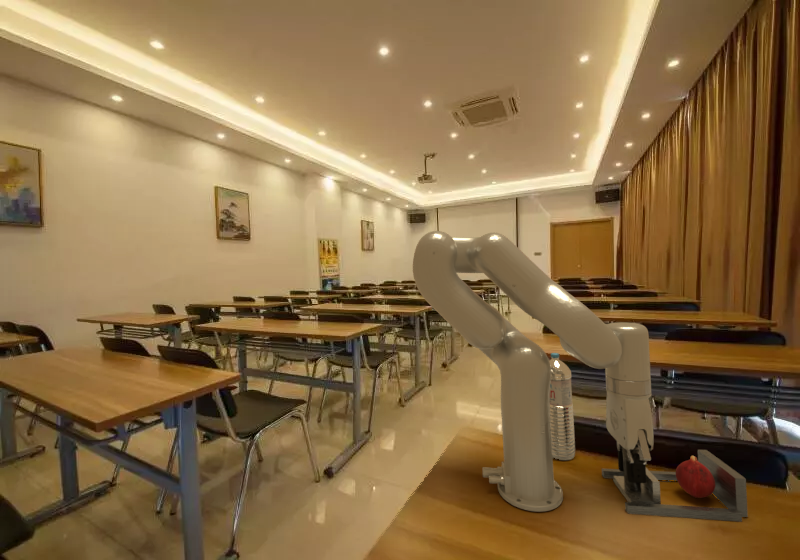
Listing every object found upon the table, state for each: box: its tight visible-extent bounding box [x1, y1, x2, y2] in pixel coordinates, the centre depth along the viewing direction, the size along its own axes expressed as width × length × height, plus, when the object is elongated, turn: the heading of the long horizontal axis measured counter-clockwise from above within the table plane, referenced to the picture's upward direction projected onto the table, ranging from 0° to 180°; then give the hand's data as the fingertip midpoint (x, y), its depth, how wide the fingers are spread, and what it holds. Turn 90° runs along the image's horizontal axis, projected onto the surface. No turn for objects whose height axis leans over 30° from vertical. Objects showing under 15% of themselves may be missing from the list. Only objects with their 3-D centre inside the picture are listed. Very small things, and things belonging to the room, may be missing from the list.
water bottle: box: [549, 352, 576, 461], centre depth 84 cm, size 7×7×25 cm
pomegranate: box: [675, 455, 715, 499], centre depth 66 cm, size 6×6×8 cm
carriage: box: [612, 444, 662, 504], centre depth 68 cm, size 5×8×12 cm, turn 169°
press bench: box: [601, 449, 749, 522], centre depth 67 cm, size 20×12×7 cm, turn 79°
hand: (631, 475), depth 68 cm, fingers closed on carriage, 2 cm apart
